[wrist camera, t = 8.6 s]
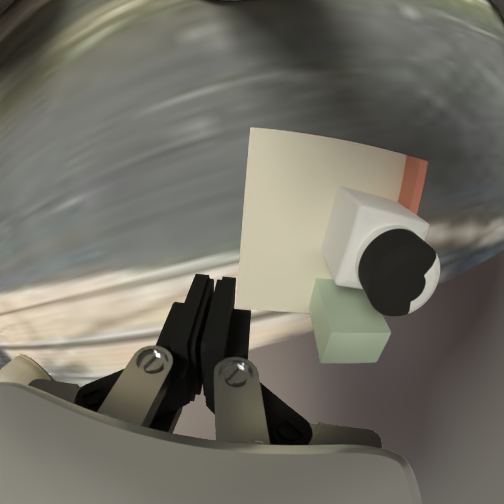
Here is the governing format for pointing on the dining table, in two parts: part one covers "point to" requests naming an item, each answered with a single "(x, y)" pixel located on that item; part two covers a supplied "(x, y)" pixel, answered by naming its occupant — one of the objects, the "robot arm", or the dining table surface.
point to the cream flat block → (306, 208)
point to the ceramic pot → (5, 5)
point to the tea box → (346, 324)
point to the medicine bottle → (380, 251)
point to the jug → (22, 371)
